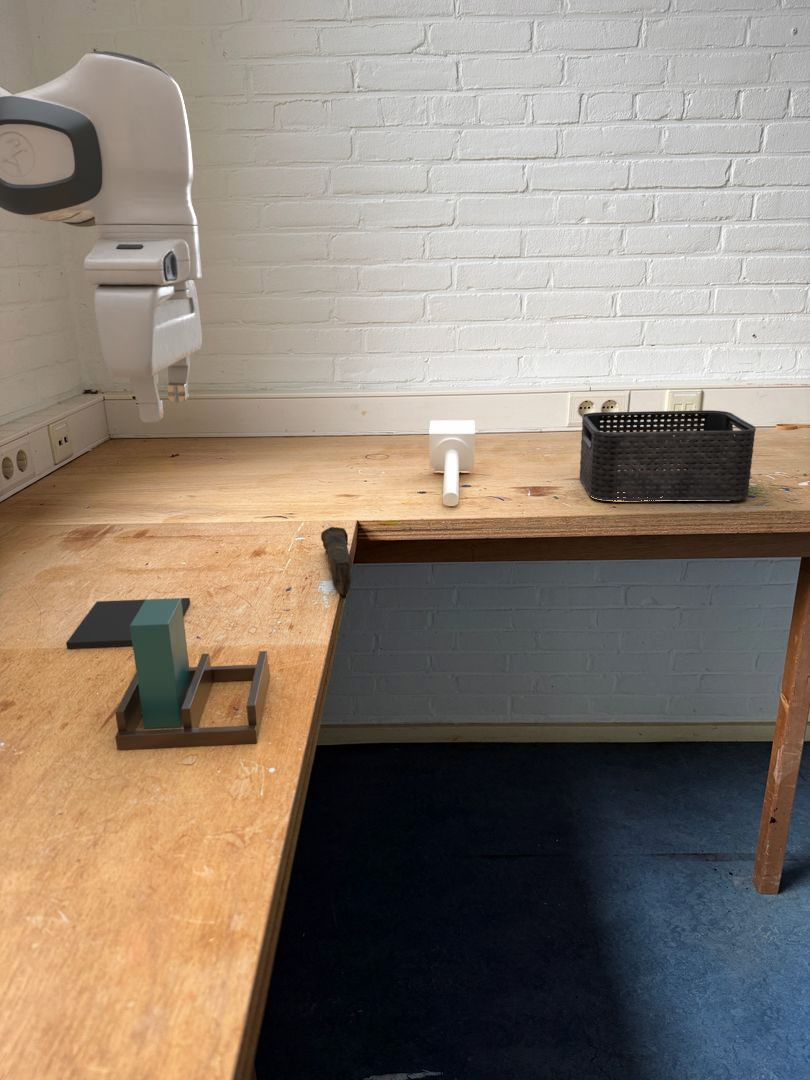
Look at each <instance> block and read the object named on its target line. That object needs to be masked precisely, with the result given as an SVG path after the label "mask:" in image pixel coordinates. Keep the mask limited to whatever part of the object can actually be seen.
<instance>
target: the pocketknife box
mask: <svg viewBox="0 0 810 1080" xmlns="http://www.w3.org/2000/svg"><path fill="white" fill-rule="evenodd" d="M181 598H182V597H175V598H174V599H173V598H153V599H151V598H148V600H147V599H144V600H145V601H144V603H143V605H142V606H141V608H140V610H139V611H138V613H137V615H136V616H135V618H134V620H133V621H132V623H131V625H130V630H131V637H132V644H133V646H132V649H133V651H132V652H133V657H134V665H135V673H136V672H137V679H138V686H139V693H140V700H141V707H142V721H143V727H144V729H145V730H149V729H170V728H182V726H183V720H182V712H181V708H182V706H183V703H184V700H185V698H186V695H187V692H188V690H189V687H190V684H191V678H190V669H189V667H190V661H189V652H188V646H187V635H186V628H185V619H184V617H183V610H182V601H181Z"/></svg>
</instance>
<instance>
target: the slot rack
mask: <svg viewBox="0 0 810 1080" xmlns="http://www.w3.org/2000/svg"><path fill="white" fill-rule="evenodd" d="M211 663H212V662H211V653H202V654H201V655H200V659H199V661H198V664H197V666H191V667H190V666H189V669H190V678H191V684H190V687H189V690H188V692H187V695H186V698H185V700H184V703H183V706H182V708H181V712H182V720H183V723H182V728H162V729H145V730H136V729H137V726H138V724H139V721H140V719H141V717H142V716H143V714H142V707H141V700H140V693H139V686H138V679H137V672H136V671H135V673H134V675H133V677H132V679H131V681H130V682H129V684H128V686H127V689H126V690H125V693H123V694H124V695H123V696H122V698H121V701H120V702H119V703H118V705H117V707H116V710H115V712H114V713H115V715H114V716H115V720H116V727H117V732H116V734H115V743H116V750H117V751H125V750H127V751H128V750H144V749H147V750H148V749H165V748H188V747H205V746H206V747H207V746H228V745H247V744H248V745H249V744H250V745H251V744H257V743H258V740H259V733H260V729H261V723H262V720H263V714H264V709H265V703H266V698H267V693H268V689H269V682H270V678H271V670H270V664H269V660H268V651H267V650H260V651H259V652H258V657H257V660H256V664H238V665H237V664H236V665H212V664H211ZM234 681H235V682H237V681H238V682H239V681H252V682H251V685H250V690H249V695H248V699H247V703H246V715H247V724H248V725H230V726H209V727H208V726H207V727H199V725H200V722H201V719H202V716H203V713H204V709H205V708H206V707H205V706H206V703H207V701H208V697H209V695H210V691H211V689H212V685H213V683H214V682H234Z"/></svg>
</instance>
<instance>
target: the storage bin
mask: <svg viewBox="0 0 810 1080" xmlns="http://www.w3.org/2000/svg"><path fill="white" fill-rule="evenodd" d="M581 419H582V420H581V425H582V426H581V440H580V459H579V460H580V461H579V465H580V467H579V477H578V478H580V479H579V481H580V480H581V481H582V482H581V481H580V482H581V484H582V483H583V484H582V486H583V485H584V486H585V488H586V489H585V488H584V489H585V491H586V490H587V491H588V493H589V495H590V496H592V497H594V498H597V499H602V500H613V501H614V500H616V501H617V500H622V501H623V500H624V501H641V500H642V501H644V500H648V501H649V500H650V501H651V500H652V501H653V500H654V501H655V500H733V501H742V500H741V499H743V500H746V499H747V498H748V497H749V488H750V480H751V473H752V472H751V470H752V464H753V460H752V459H753V455H754V446H755V444H754V443H755V436H756V431H757V427H756V426H755V425H753V424H751V423H749V422H748V421H746V420H744V419H742V418H741V417H739V416H738V415H736V414H734V413H732V412H729V411H726V410H725V411H724V410H714V409H713V410H712V409H711V410H708V409H707V410H706V409H703V410H701V409H700V410H657V411H656V410H654V411H653V410H652V411H650V410H649V411H648V410H647V411H603V412H602V411H599V412H588V413H584V414H582V416H581ZM734 427H735V428H737V430H734ZM584 486H583V487H584ZM587 491H586V492H587ZM617 492H619V493H617ZM623 492H625V493H623ZM588 493H587V494H588ZM589 495H588V496H589ZM590 496H589V497H590ZM662 496H663V497H662ZM617 497H619V498H617ZM623 497H626V498H623ZM633 497H634V498H633ZM638 497H639V498H638ZM647 497H648V498H647ZM660 497H662V498H660ZM745 498H746V499H745Z"/></svg>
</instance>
